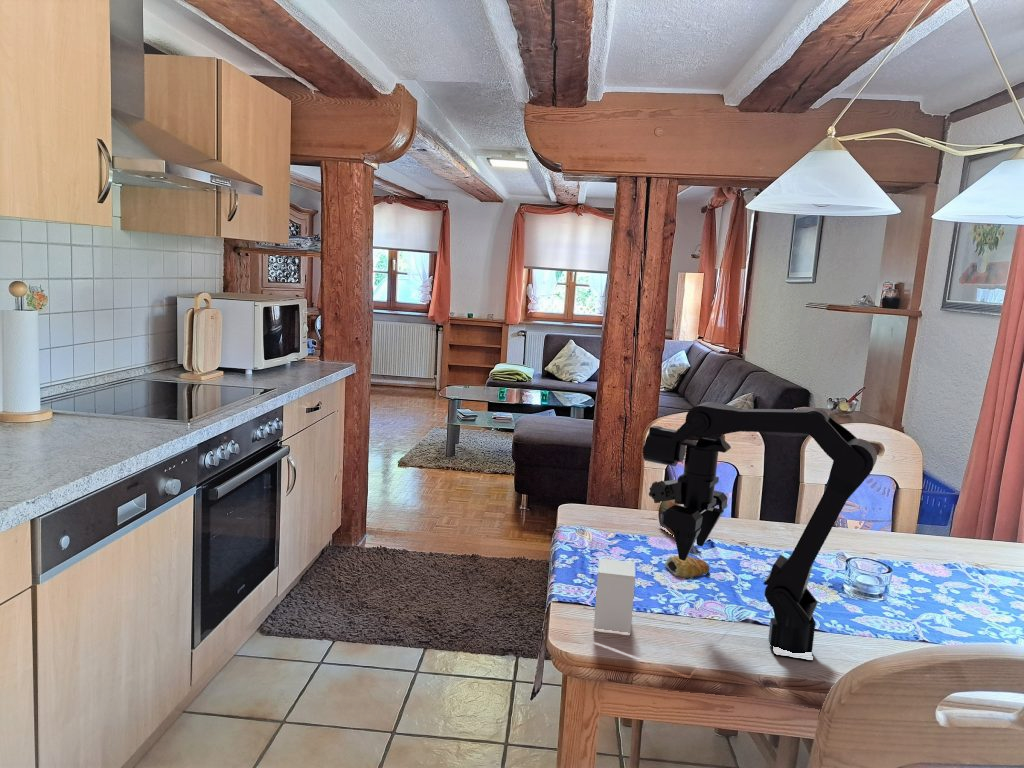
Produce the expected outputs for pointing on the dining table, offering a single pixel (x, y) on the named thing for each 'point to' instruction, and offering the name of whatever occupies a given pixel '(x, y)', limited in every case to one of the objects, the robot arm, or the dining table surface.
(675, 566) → the pastry
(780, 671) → the dining table surface
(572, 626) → the dining table surface
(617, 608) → the tall white rectangular prism
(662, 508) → the tin
